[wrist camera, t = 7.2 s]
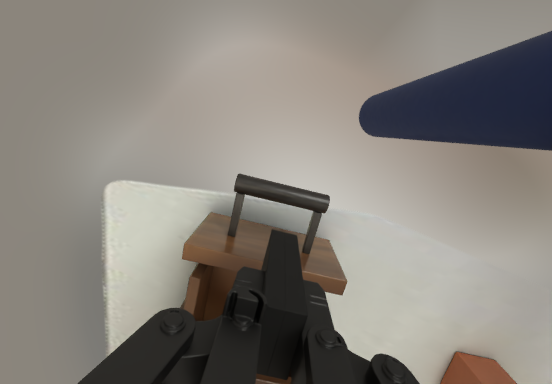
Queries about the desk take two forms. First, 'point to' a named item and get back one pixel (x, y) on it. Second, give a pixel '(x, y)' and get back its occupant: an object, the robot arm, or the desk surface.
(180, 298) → the desk surface
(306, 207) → the drawer
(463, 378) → the block
